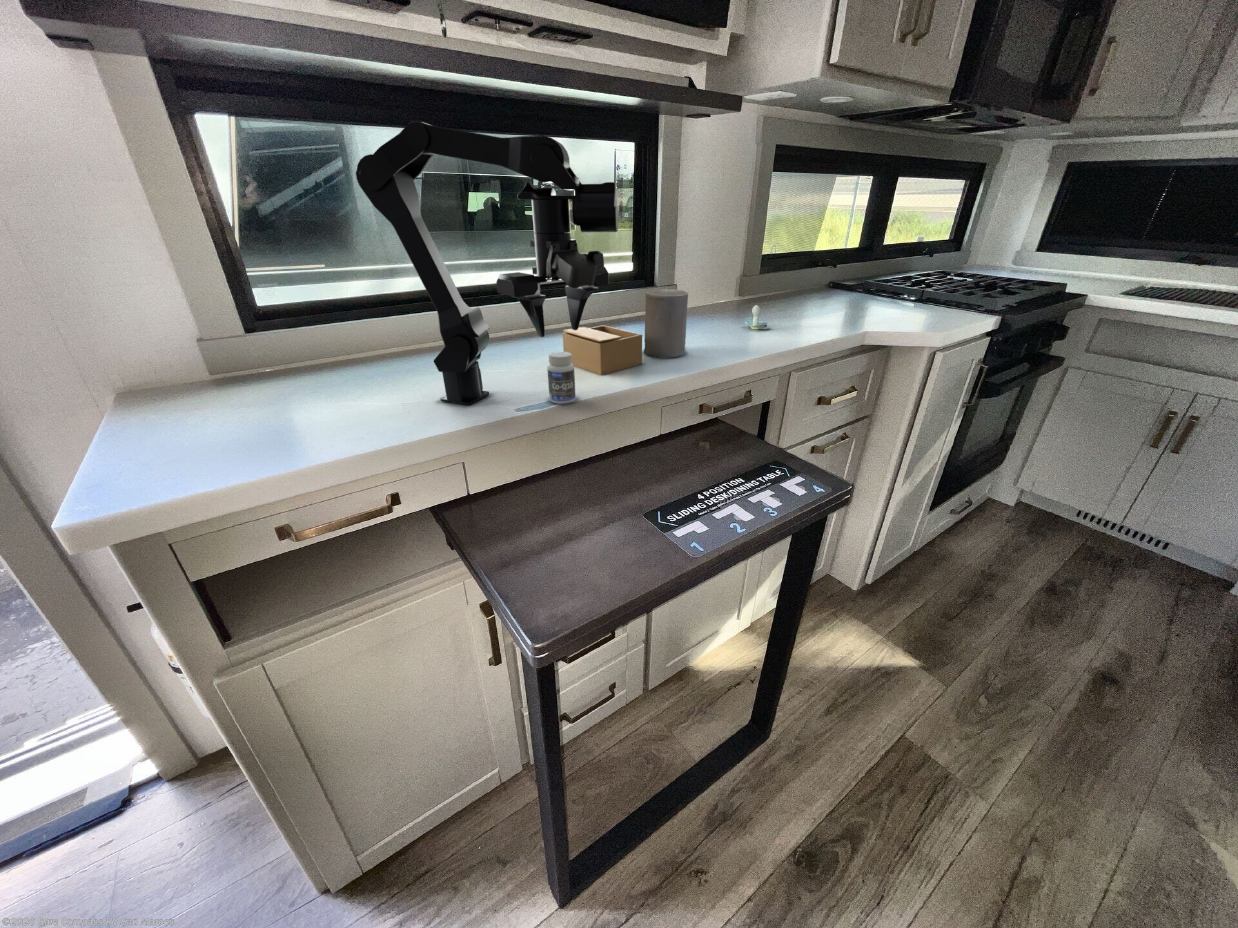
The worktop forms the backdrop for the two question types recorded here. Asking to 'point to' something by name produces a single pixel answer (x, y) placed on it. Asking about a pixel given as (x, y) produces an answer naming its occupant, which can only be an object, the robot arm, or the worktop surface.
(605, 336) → the flap
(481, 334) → the robot arm
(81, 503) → the worktop surface
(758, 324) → the pacifier
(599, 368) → the carton
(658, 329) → the pillar candle
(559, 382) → the pill bottle
